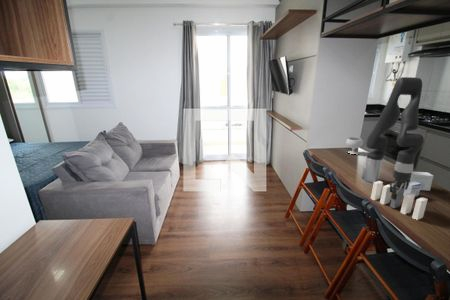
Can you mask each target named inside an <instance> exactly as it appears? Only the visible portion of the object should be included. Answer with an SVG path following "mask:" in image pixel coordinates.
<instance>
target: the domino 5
mask: <svg viewBox="0 0 450 300" xmlns="http://www.w3.org/2000/svg"><path fill="white" fill-rule="evenodd" d="M427 204H428V198H427V197H425V196H424V197H423V196H422V197H419V198H417V199H416V200H415V204H414V209H413V213H412V215H411V218H412V219H414V220H415V219H416V221H419V220H421V219H422V218H424V215H425V211H426V207H427Z"/></svg>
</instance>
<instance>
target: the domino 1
mask: <svg viewBox="0 0 450 300" xmlns="http://www.w3.org/2000/svg"><path fill="white" fill-rule="evenodd" d="M383 183H384V182H383V181H381V180H378V181H377V182H374V183H372V185H373V186H372V190H371V195H370V199H371V200H372V201H377V200H379V199H381V194H382V189H383V186H384V184H383Z"/></svg>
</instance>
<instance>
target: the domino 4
mask: <svg viewBox="0 0 450 300" xmlns="http://www.w3.org/2000/svg"><path fill="white" fill-rule="evenodd" d="M415 198H416V197H415V194H413V193H411V192H410V193H408V194H405V195H404V196H403V198H402V199H403V200H402V202H401V203H402V204H401V208H400V212H399V213H400V214H403V215H408V214H411V212H412V209H413V204H414V200H415ZM407 213H408V214H407Z"/></svg>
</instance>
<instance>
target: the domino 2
mask: <svg viewBox="0 0 450 300" xmlns="http://www.w3.org/2000/svg"><path fill="white" fill-rule="evenodd" d="M391 197H392V192H390V184H386V185H382V190H381V195H380V201H379V204H381V205H383V206H384V205H387V204H390V203H391Z"/></svg>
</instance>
